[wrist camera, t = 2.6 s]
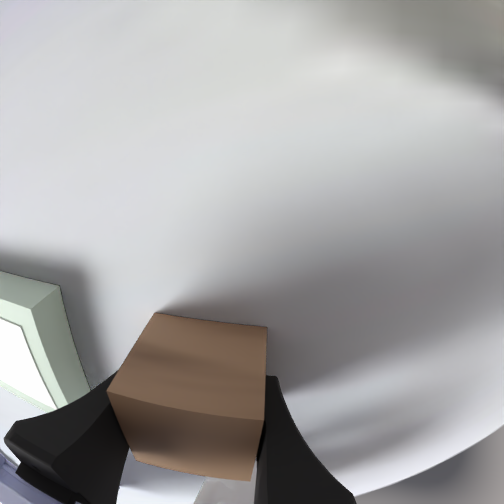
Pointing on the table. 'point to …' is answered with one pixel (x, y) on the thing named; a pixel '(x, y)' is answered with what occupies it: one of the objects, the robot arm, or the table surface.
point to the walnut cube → (194, 396)
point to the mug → (227, 491)
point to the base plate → (37, 345)
